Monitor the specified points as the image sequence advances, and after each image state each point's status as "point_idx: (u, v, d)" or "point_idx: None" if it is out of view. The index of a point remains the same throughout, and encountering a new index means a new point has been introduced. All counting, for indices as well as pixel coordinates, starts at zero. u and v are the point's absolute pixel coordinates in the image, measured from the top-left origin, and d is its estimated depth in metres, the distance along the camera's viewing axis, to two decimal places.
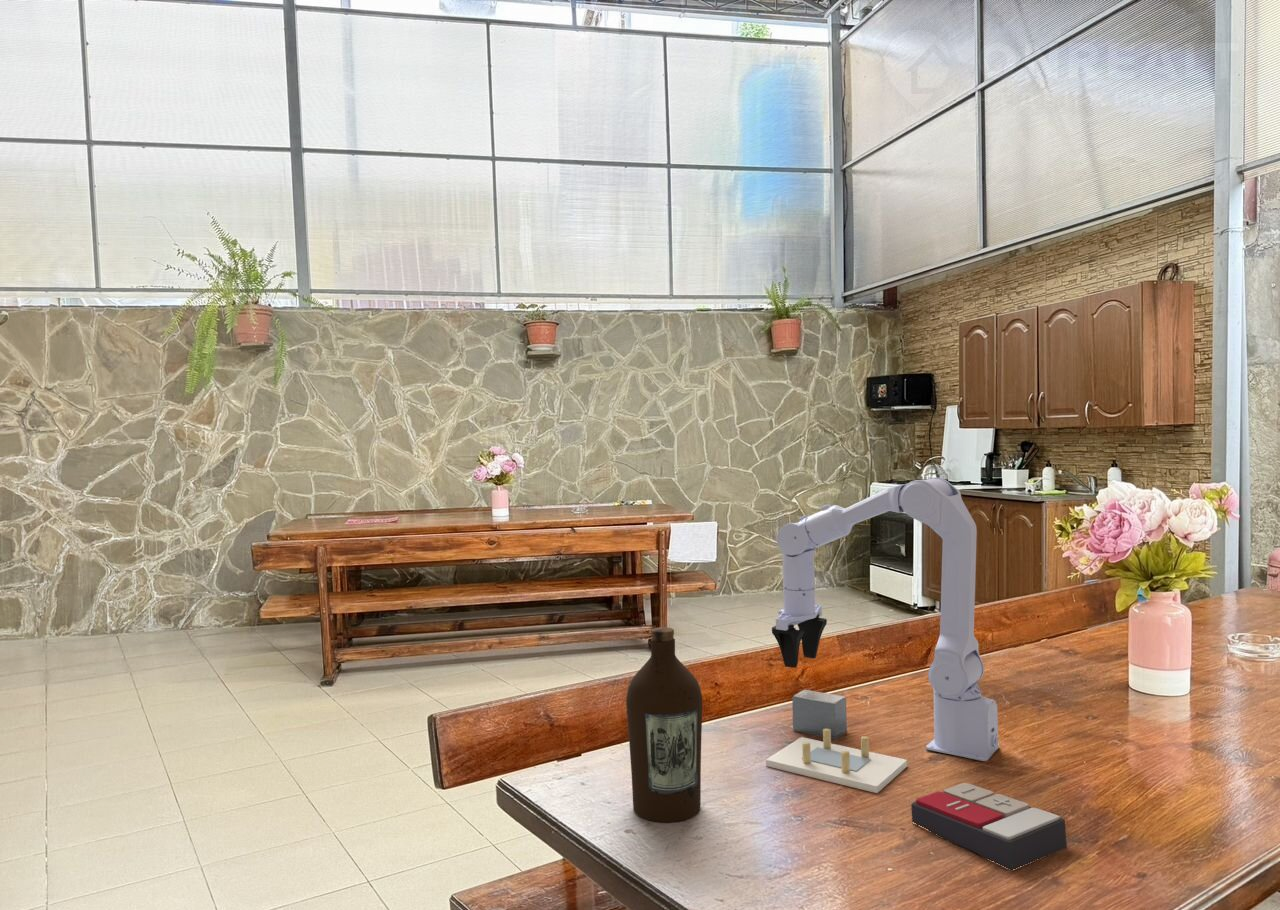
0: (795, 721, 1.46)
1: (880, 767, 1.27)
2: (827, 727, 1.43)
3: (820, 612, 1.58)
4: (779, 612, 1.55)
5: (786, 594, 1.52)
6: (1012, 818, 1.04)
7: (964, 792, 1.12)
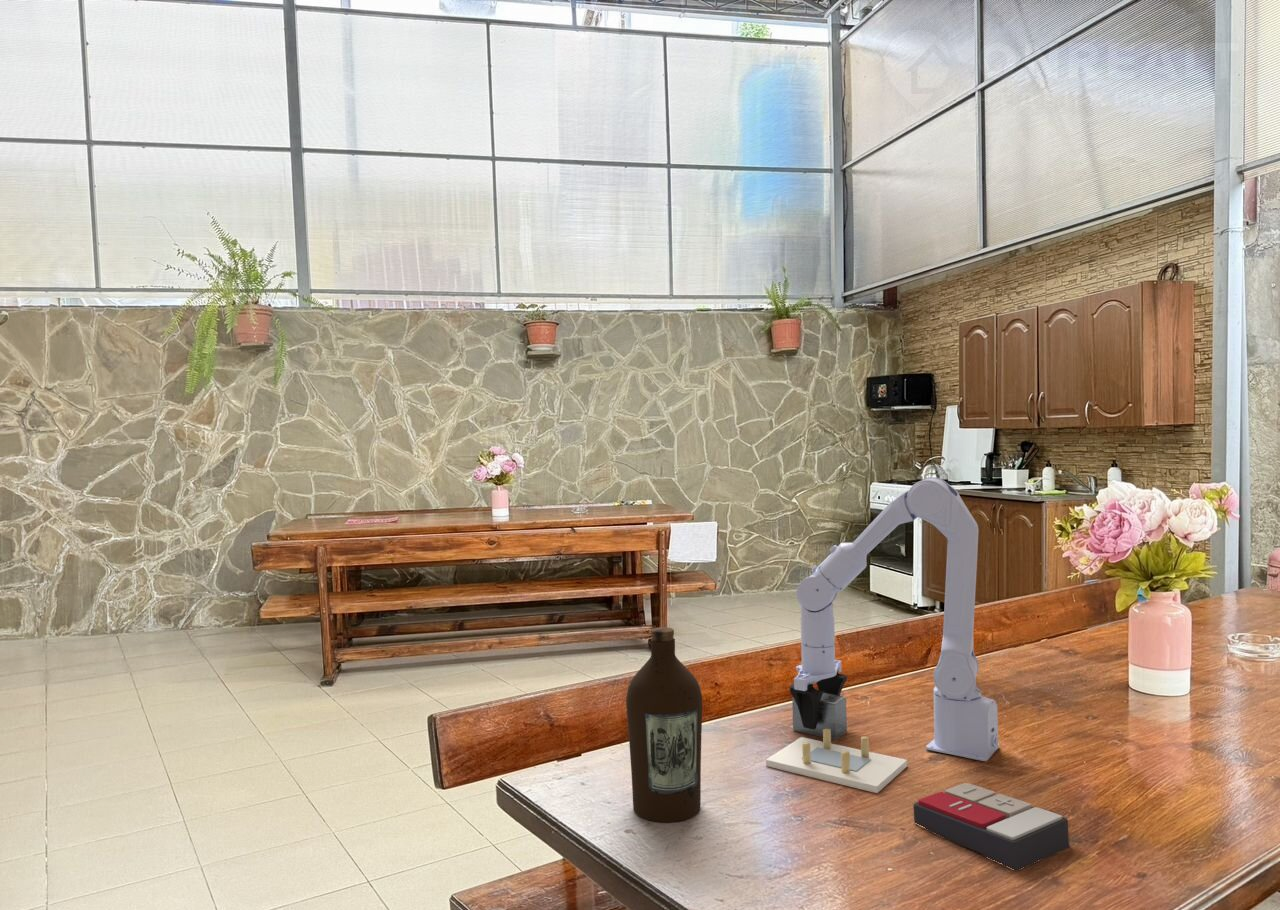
0: (795, 721, 1.46)
1: (880, 767, 1.27)
2: (827, 727, 1.43)
3: (839, 667, 1.51)
4: (797, 669, 1.47)
5: (804, 651, 1.45)
6: (1015, 818, 1.04)
7: (966, 792, 1.12)
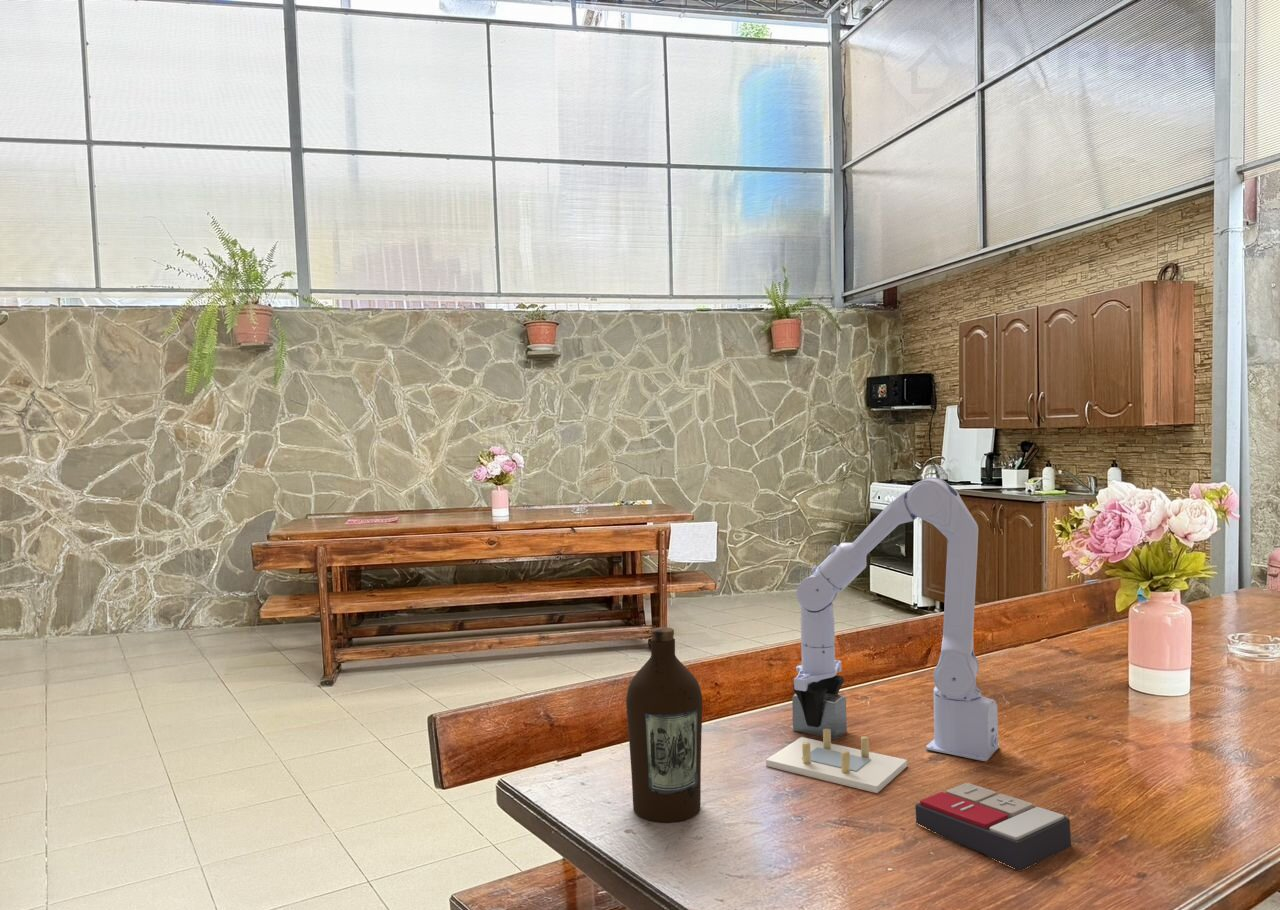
0: (795, 720, 1.46)
1: (880, 767, 1.27)
2: (827, 726, 1.43)
3: (839, 667, 1.51)
4: (797, 669, 1.47)
5: (804, 651, 1.45)
6: (1018, 818, 1.04)
7: (967, 792, 1.12)
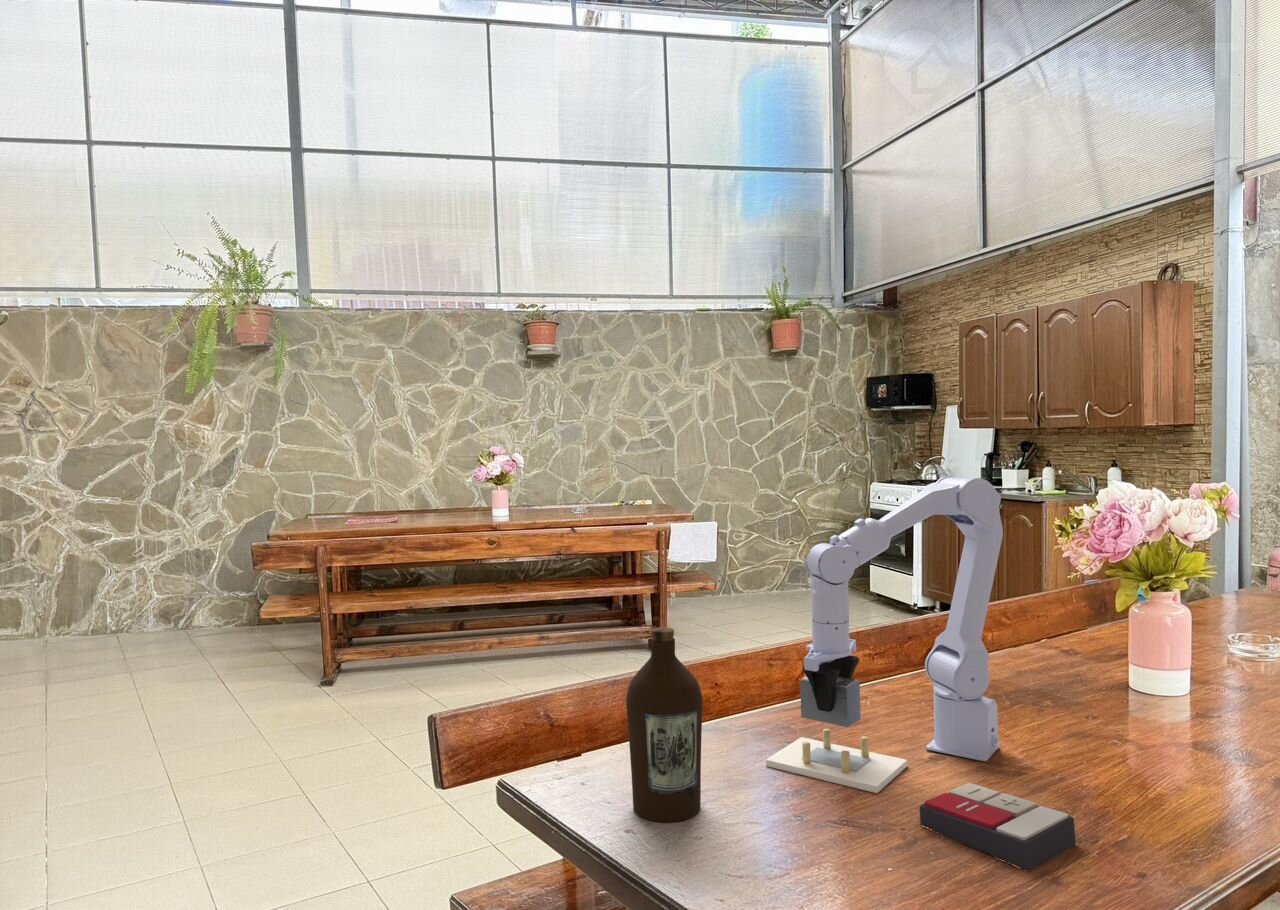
0: (803, 707, 1.33)
1: (880, 767, 1.27)
2: (838, 713, 1.29)
3: (854, 647, 1.37)
4: (807, 648, 1.34)
5: (816, 628, 1.31)
6: (1023, 818, 1.04)
7: (970, 793, 1.12)
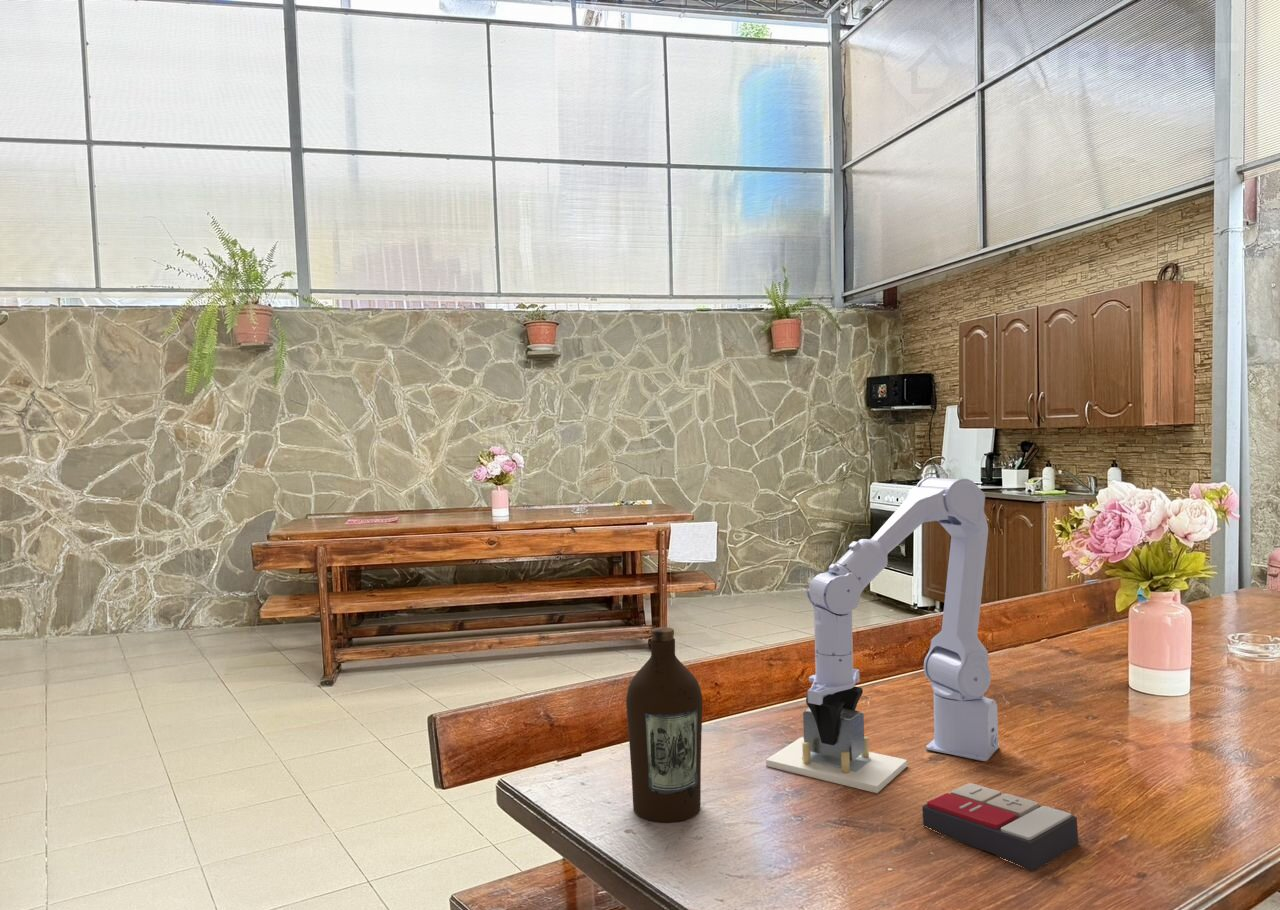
0: (806, 739, 1.31)
1: (880, 767, 1.27)
2: (842, 746, 1.27)
3: (857, 677, 1.35)
4: (810, 679, 1.31)
5: (819, 659, 1.29)
6: (1026, 818, 1.04)
7: (972, 793, 1.12)
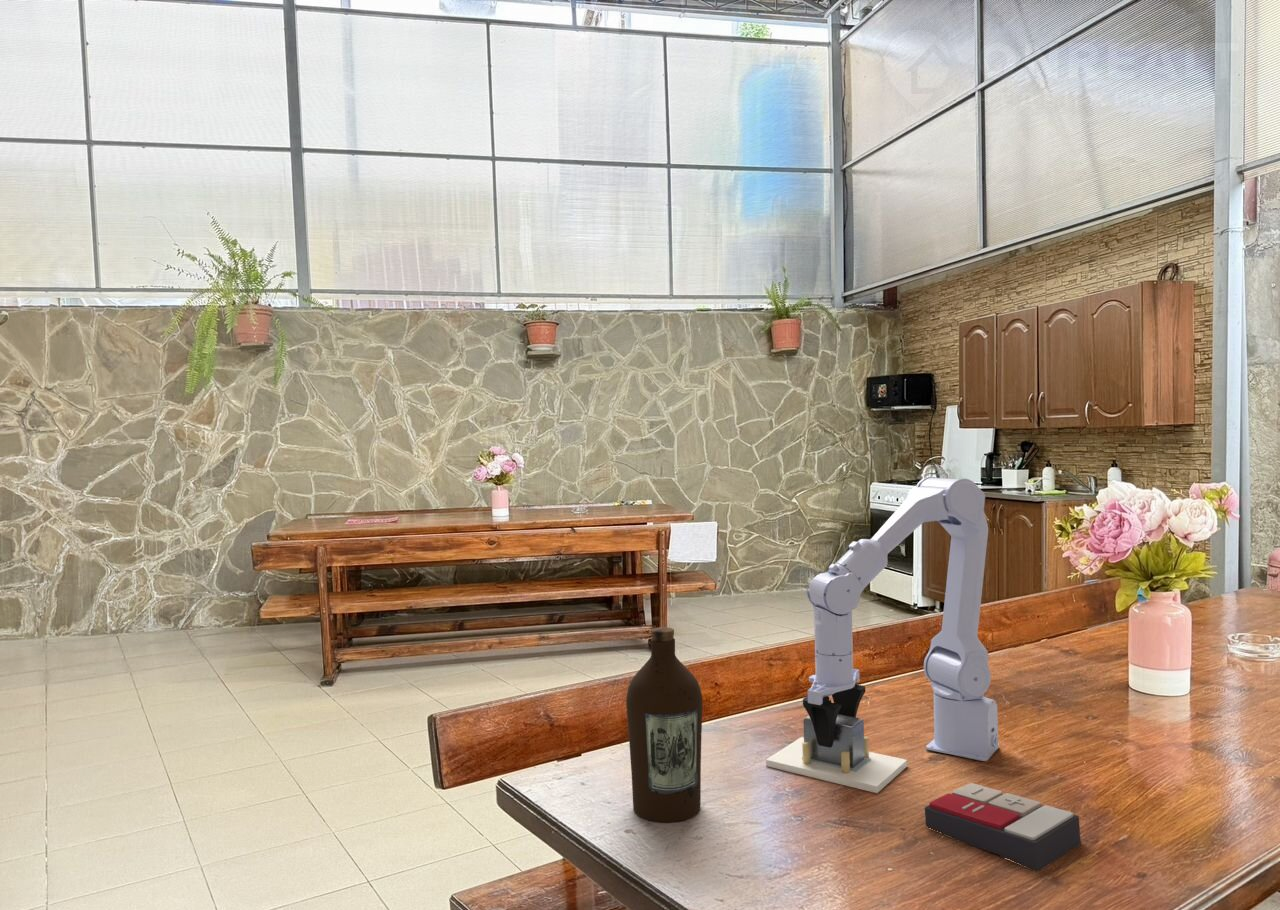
0: None
1: (880, 767, 1.27)
2: None
3: (857, 677, 1.35)
4: (810, 679, 1.31)
5: (819, 659, 1.29)
6: (1029, 817, 1.04)
7: (974, 793, 1.11)
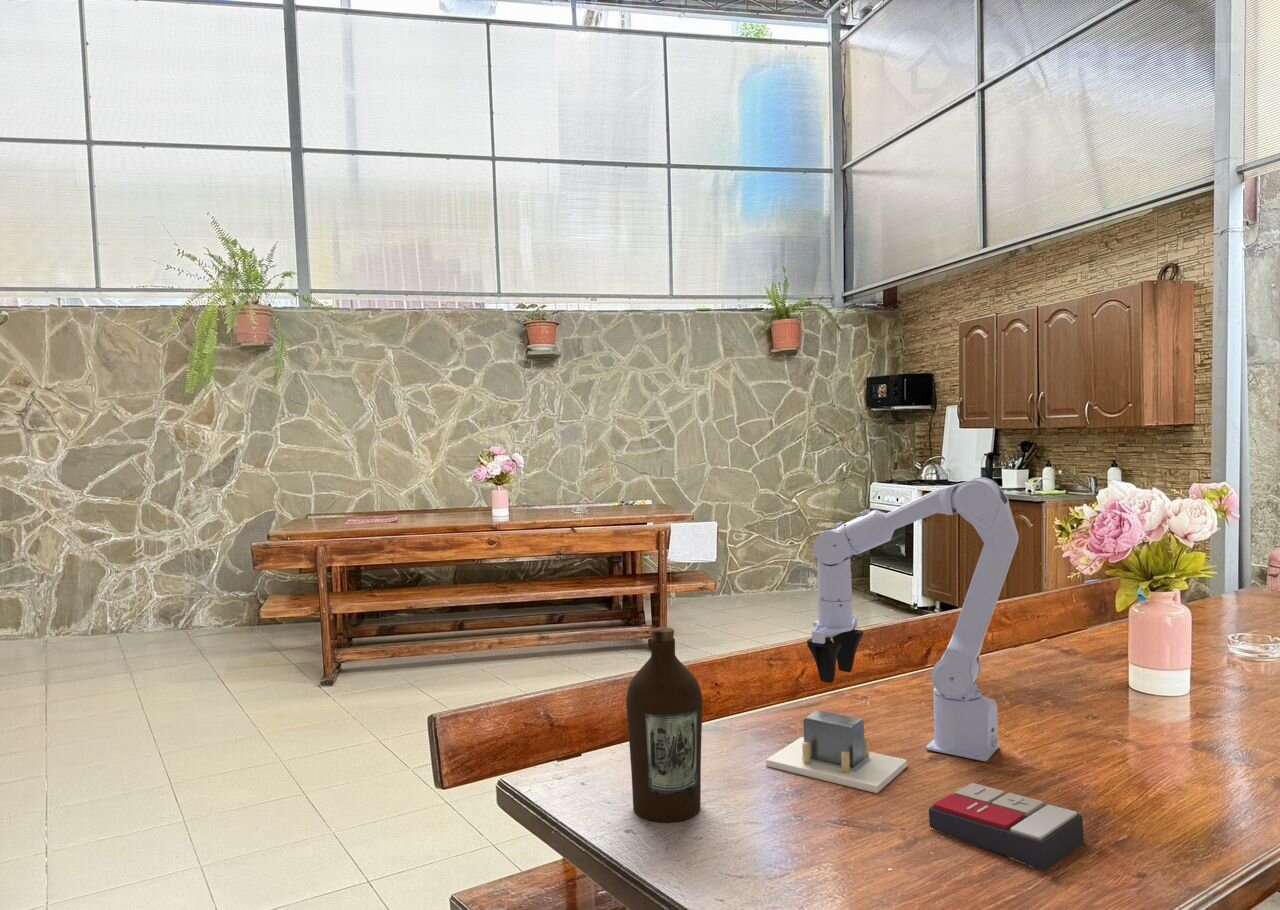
0: None
1: (880, 767, 1.27)
2: None
3: (855, 623, 1.51)
4: (813, 624, 1.47)
5: (822, 605, 1.45)
6: (1034, 817, 1.04)
7: (977, 793, 1.11)
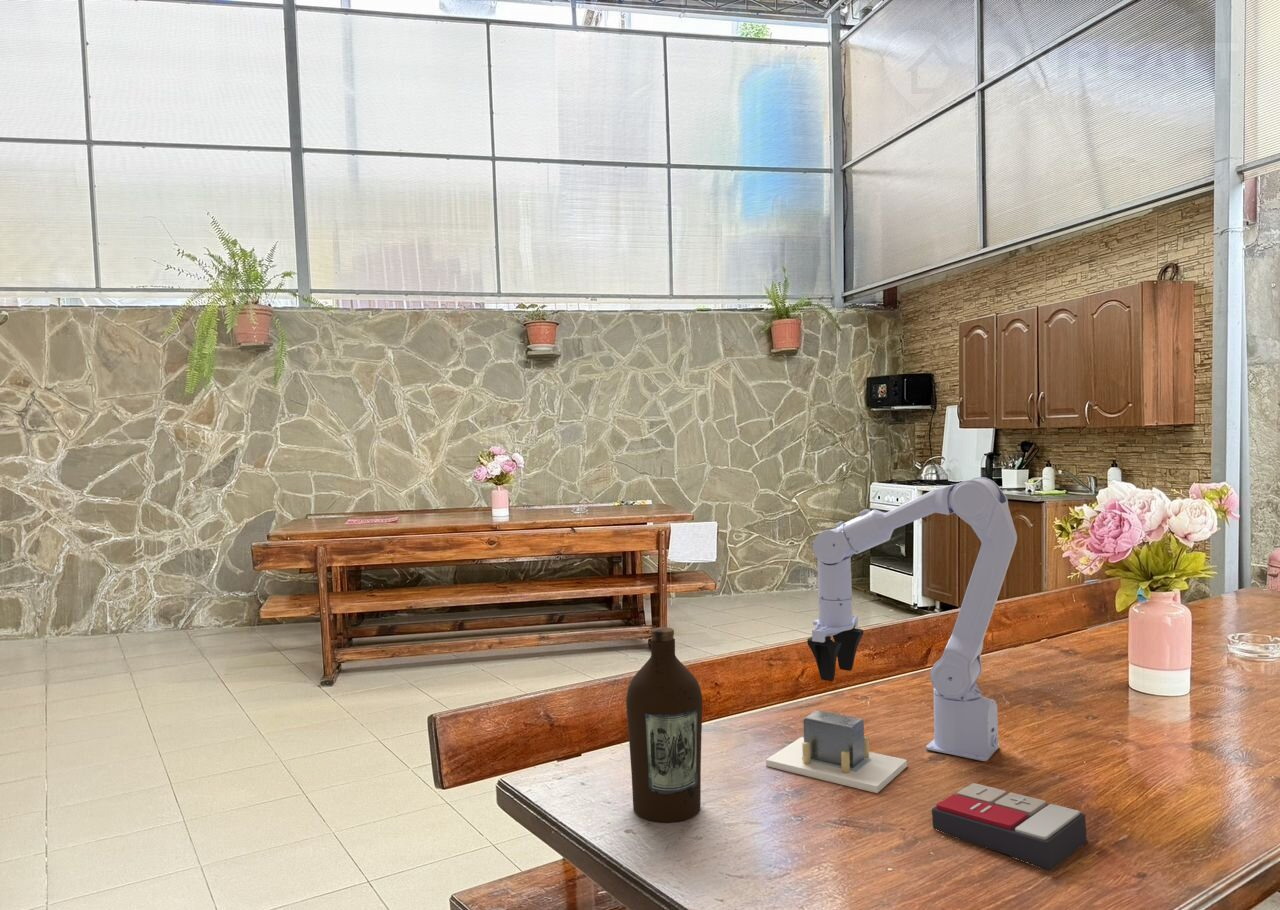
0: None
1: (880, 767, 1.27)
2: None
3: (856, 622, 1.52)
4: (814, 623, 1.48)
5: (822, 604, 1.46)
6: (1038, 817, 1.04)
7: (979, 793, 1.11)
